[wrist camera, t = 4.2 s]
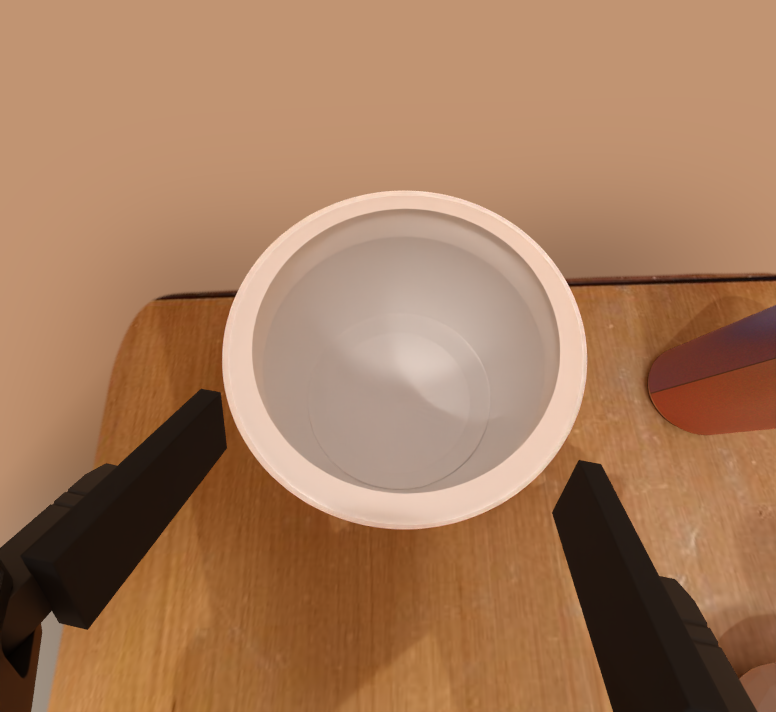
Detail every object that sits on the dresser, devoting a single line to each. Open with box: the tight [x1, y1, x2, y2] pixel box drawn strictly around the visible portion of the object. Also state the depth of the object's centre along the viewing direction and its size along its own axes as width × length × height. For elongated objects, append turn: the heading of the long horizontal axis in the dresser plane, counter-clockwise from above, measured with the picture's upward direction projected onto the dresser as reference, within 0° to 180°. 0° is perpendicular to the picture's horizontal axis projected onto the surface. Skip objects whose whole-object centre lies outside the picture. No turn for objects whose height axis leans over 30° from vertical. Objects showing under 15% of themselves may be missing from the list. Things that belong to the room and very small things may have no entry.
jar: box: [222, 191, 587, 529], centre depth 18 cm, size 11×10×15 cm
